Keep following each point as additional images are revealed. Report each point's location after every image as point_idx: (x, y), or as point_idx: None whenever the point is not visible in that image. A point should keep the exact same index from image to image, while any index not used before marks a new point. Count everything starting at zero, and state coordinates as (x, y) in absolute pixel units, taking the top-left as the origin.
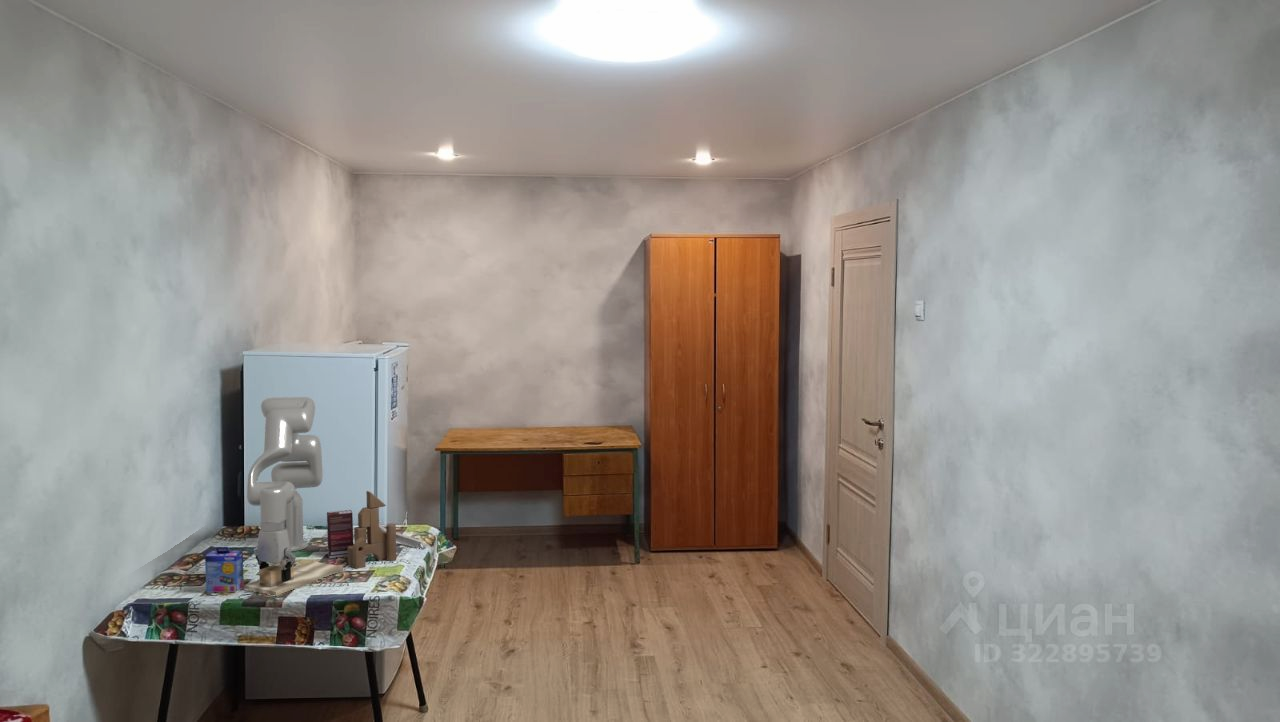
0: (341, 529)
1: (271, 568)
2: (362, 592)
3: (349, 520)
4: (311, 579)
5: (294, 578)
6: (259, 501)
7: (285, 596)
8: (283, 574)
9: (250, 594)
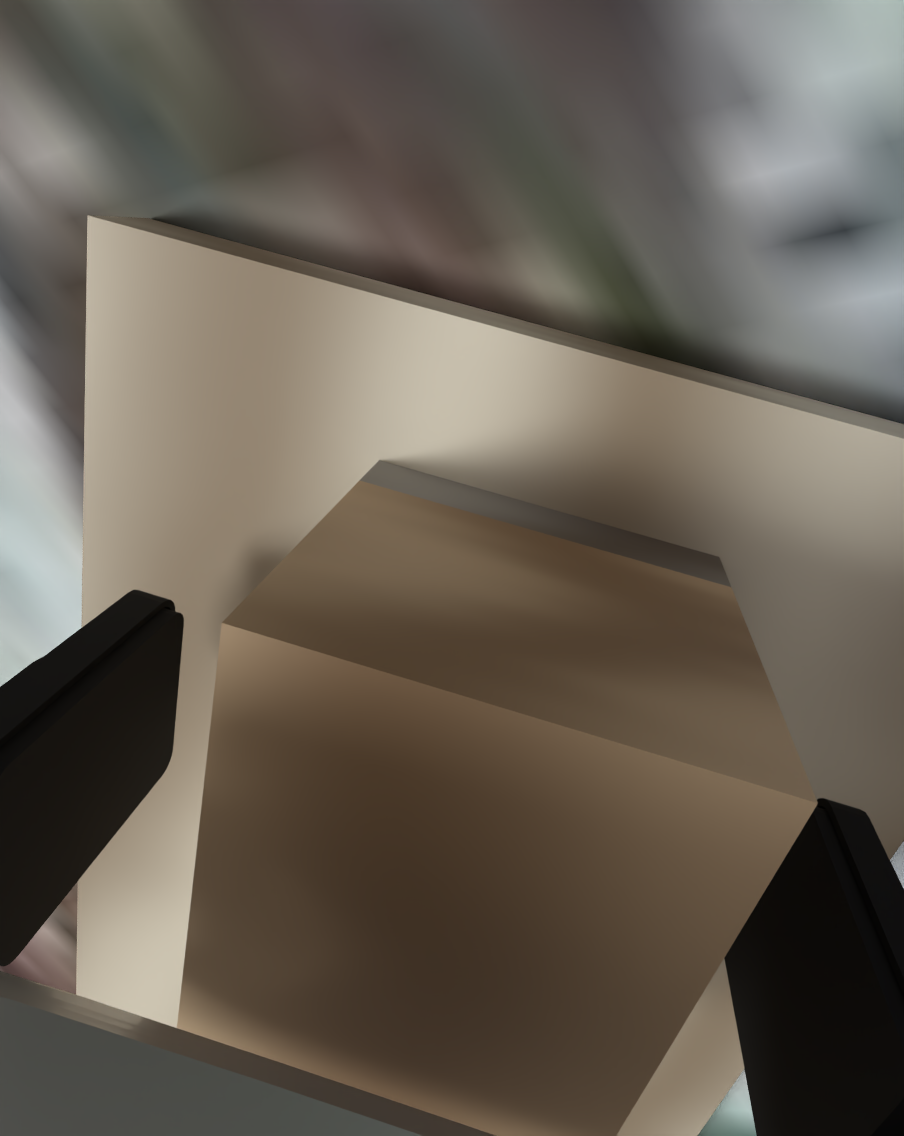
0: None
1: (452, 929)
2: None
3: None
4: (84, 906)
5: None
6: None
7: (11, 281)
8: (23, 694)
9: (766, 224)
